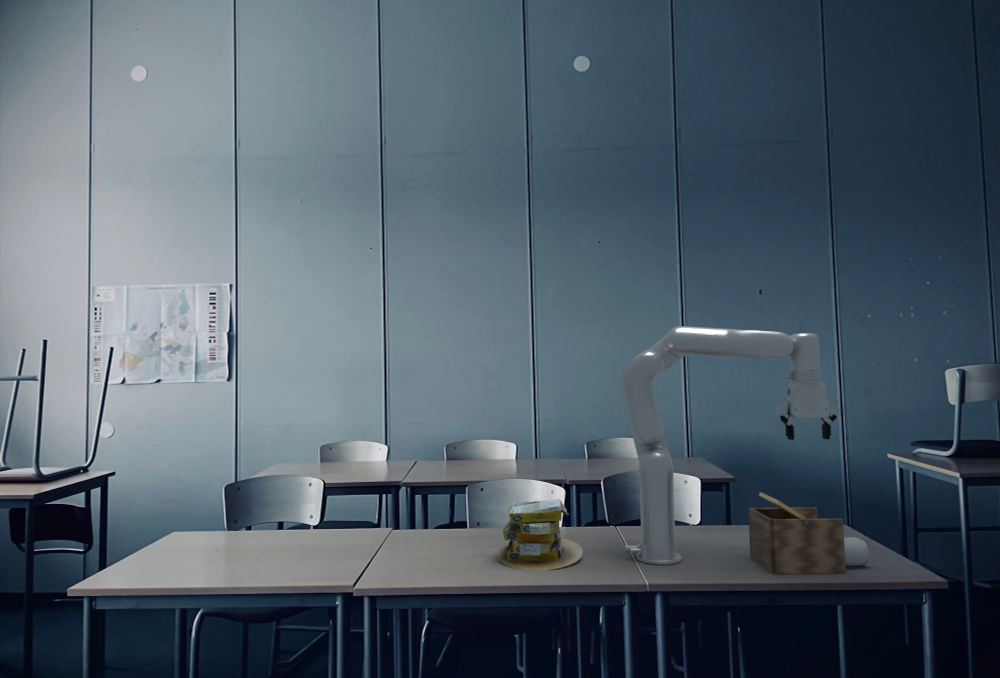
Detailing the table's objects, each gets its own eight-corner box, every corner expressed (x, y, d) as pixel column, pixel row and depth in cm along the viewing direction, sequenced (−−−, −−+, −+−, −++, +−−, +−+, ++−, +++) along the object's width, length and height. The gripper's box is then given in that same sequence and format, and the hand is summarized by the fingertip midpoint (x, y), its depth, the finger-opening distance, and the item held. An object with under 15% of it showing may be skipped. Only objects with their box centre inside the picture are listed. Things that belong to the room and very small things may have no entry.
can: (814, 564, 188) (858, 563, 188) (827, 568, 180) (872, 567, 180) (812, 536, 189) (854, 535, 189) (824, 539, 182) (869, 538, 182)
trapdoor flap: (776, 503, 180) (778, 500, 180) (758, 495, 194) (760, 492, 194) (829, 536, 179) (831, 533, 179) (807, 525, 193) (809, 522, 193)
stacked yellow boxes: (569, 573, 181) (568, 510, 183) (484, 566, 190) (483, 506, 191) (591, 552, 204) (589, 496, 205) (514, 546, 213) (513, 492, 214)
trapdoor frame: (773, 575, 177) (770, 520, 178) (749, 556, 195) (747, 507, 196) (847, 574, 176) (844, 520, 177) (816, 556, 195) (814, 506, 196)
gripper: (779, 378, 185) (782, 440, 184) (843, 376, 185) (846, 439, 184) (769, 378, 193) (772, 438, 192) (831, 377, 192) (834, 437, 191)
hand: (808, 439), depth 188 cm, fingers open, 9 cm apart
